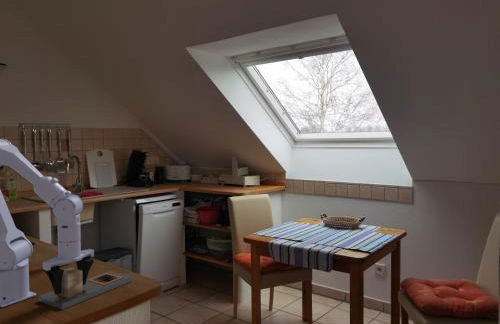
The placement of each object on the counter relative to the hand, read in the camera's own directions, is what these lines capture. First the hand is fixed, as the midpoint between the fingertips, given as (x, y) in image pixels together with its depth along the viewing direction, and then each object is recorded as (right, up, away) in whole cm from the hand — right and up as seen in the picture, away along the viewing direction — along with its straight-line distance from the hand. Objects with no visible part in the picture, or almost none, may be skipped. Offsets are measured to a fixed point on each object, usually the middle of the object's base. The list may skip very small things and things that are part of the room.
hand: (70, 288), depth 112 cm
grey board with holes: (+3, -2, +5) cm, 7 cm away
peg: (0, -3, 0) cm, 3 cm away
